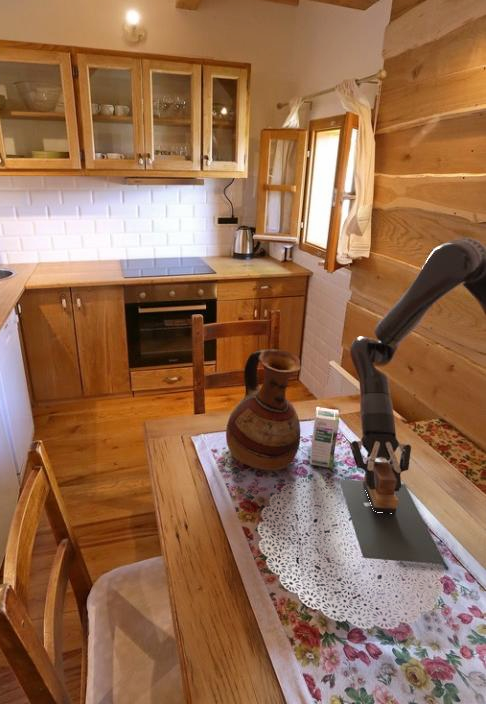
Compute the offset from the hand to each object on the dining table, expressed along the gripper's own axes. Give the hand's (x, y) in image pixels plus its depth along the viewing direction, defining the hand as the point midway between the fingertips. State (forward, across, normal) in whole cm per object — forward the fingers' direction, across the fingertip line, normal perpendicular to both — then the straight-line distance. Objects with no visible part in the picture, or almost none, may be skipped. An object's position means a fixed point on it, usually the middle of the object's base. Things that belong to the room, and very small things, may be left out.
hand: (384, 489), depth 92 cm
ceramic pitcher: (-8, -27, +16) cm, 32 cm away
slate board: (+6, 0, +1) cm, 6 cm away
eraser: (+2, 0, +4) cm, 5 cm away
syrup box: (-7, -11, +15) cm, 20 cm away
